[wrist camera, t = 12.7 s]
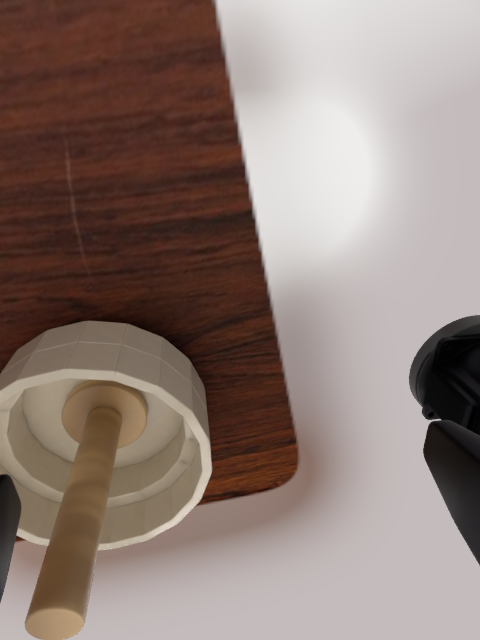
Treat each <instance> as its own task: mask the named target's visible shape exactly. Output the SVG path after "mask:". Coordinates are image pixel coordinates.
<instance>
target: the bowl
mask: <svg viewBox="0 0 480 640" xmlns="http://www.w3.org/2000/svg"><path fill="white" fill-rule="evenodd" d="M88 380H108V381H115V382H118V383H121V384H124V385H127V386H130V387H133V388H136V389H137V390H139V391H140V393H141V394H142V395H143V397H144V399H145V401H146V403H147V408H148V414H147V423H146V427H145V429H144V431H143V432H142V434H141V435H140V436H139V438H138V439H136V440H135V441H134V442H133V443H131V444H129V445H127V446H125V447H122V448H119V449H117V451H116V457H115V462H114V467H113V473H112V478H111V483H110V489H109V494H108V500H107V505H106V510H105V516H104V521H103V526H102V532H101V537H100V543H99V548H98V550H110V549H115V548H119V547H123V546H127V545H131V544H135V543H139V542H143V541H146V540H149V539H151V538H153V537H154V536H156V535H158V534H160V533H162V532H163V531H165V530H167V529H169V528H171V527H173V526H175V525H176V524H178V523H179V522H180V521H181V520H182V519H183V518H184V517H185V516H186V515H187V514H188V513H189V512H190V511H191V510H192V509H193V508H194V507H195V506H196V505H197V503H198V502H199V501H200V500H201V498H202V496H203V493H204V491H205V488H206V486H207V483H208V481H209V478H210V476H211V473H212V462H211V448H210V436H209V426H208V416H207V406H206V395H205V388H204V385H203V383H202V381H201V379H200V378H199V376H198V374H197V372H196V370H195V368H194V366H193V365H192V363H191V361H190V360H189V359H188V358H187V357H186V356H185V355H184V354H183V353H181V352H180V351H179V350H178V349H177V348H175V347H174V346H173V345H172V344H171V343H169V342H168V341H167V340H166V339H165V338H163V337H161V336H158V335H156V334H153V333H151V332H148V331H146V330H143V329H140V328H138V327H135V326H133V325H130V324H127V323H115V322H101V321H83V322H79V323H74V324H70V325H66V326H62V327H58V328H54V329H49V330H47V331H45V332H43V333H42V334H40V335H39V336H37V337H36V338H34V339H33V340H31V341H30V342H28V343H27V344H25V345H24V346H22V347H21V348H19V349H18V350H17V351H16V352H15V353H14V355H13V356H12V358H11V359H10V361H9V362H8V364H7V365H6V366H5V368H4V369H3V371H2V372H1V374H0V474H8V475H10V476H11V478H12V480H13V482H14V485H15V487H16V490H17V493H18V495H19V498H20V500H21V506H22V510H21V516H20V521H19V525H18V530H17V534H16V535H17V536H19V537H21V538H23V539H25V540H28V541H30V542H33V543H36V544H41V545H46V546H48V544H49V541H50V538H51V535H52V531H53V528H54V525H55V521H56V518H57V515H58V512H59V508H60V505H61V502H62V498H63V495H64V492H65V489H66V485H67V482H68V479H69V476H70V472H71V469H72V466H73V462H74V459H75V456H76V453H77V449H78V446H79V443H78V442H76V441H75V440H74V439H72V438H71V437H70V436H69V434H68V433H67V432H66V430H65V428H64V426H63V423H62V410H63V407H64V404H65V402H66V399H67V397H68V395H69V394H70V393H71V391H72V390H73V389H74V388H75V387H77V386H78V385H80V384H81V383H83V382H85V381H88Z"/></svg>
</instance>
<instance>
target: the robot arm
mask: <svg viewBox="0 0 480 640" xmlns="http://www.w3.org/2000/svg"><path fill="white" fill-rule="evenodd" d="M445 344H447V345H446V346H445V347H444V345H445ZM422 414H423V416H424V417H425V418H426V419H428V420H432V419H441V421H433V422H431V423H430V424H429V426H428V430H427V435H426V439H425V444H424V448H423V453H424V458H425V460H426V462H427V465H428V467H429V469H430V471H431V473H432V476H433V478H434V480H435V482H436V484H437V486H438V488H439V490H440V493H441V495H442V497H443V499H444V501H445V503H446V505H447V508H448V510H449V512H450V514H451V516H452V518H453V520H454V522H455V524H456V525H457V527H458V529H459V531H460V533H461V534H462V536H463V538H464V539H465V541H466V543H467V545H468V546H469V548H470V550H471V551H472V553H473V555H474V556H475V558H476V560H477V561H478V563H479V565H480V334H472V335H461V336H450V337H443V338H441V339H440V340H439V341H438V342H437V345H436V349H435V354H434V358H433V363H432V367H431V371H430V374H429V379H428V383H427V388H426V393H425V397H424V404H423V409H422ZM21 510H22V506H21V500H20V498H19V495H18V493H17V490H16V487H15V485H14V482H13V480H12V478H11V476H10V475H8V474H0V602H1V598H2V595H3V592H4V588H5V583H6V580H7V575H8V571H9V566H10V561H11V557H12V553H13V548H14V544H15V539H16V534H17V530H18V525H19V521H20V516H21Z"/></svg>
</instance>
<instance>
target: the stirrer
mask: <svg viewBox="0 0 480 640" xmlns="http://www.w3.org/2000/svg"><path fill="white" fill-rule="evenodd" d="M147 414H148V408H147V403H146V401H145V399H144V397H143V395H142V394H141V393H140V391H139V390H137V389H136V388H133V387H130V386H127V385H124V384H121V383H118V382H115V381H108V380H88V381H85V382H83V383H81V384H80V385H78V386H77V387H75V388H74V389H73V390H72V391H71V393H70V394H69V395H68V397H67V399H66V402H65V404H64V407H63V410H62V423H63V426H64V428H65V430H66V432H67V433H68V434H69V436H70V437H71V438H72V439H74V440H75V441H76V442H78V443H79V446H78V449H77V453H76V456H75V459H74V462H73V466H72V469H71V472H70V476H69V479H68V482H67V485H66V489H65V492H64V495H63V498H62V502H61V505H60V508H59V512H58V515H57V518H56V521H55V525H54V528H53V531H52V535H51V538H50V541H49V544H48V548H47V551H46V554H45V558H44V561H43V564H42V568H41V571H40V574H39V577H38V581H37V584H36V587H35V590H34V594H33V597H32V600H31V603H30V607H29V610H28V613H27V617H26V620H25V628H26V630H27V632H28V633H29V634H30V635H32V636H34V637H36V638H38V639H42V640H62V639H67V638H69V637H72V636H74V635H76V634H77V633H78V632H80V631H81V629H82V628H83V626H84V623H85V617H86V612H87V607H88V601H89V596H90V590H91V585H92V580H93V575H94V569H95V564H96V559H97V553H98V548H99V543H100V537H101V532H102V526H103V521H104V516H105V510H106V505H107V500H108V494H109V489H110V483H111V478H112V473H113V467H114V462H115V457H116V451H117V449H119V448H122V447H125V446H127V445H129V444H131V443H133V442H134V441H135V440H136V439H138V438H139V436H140V435H141V434H142V432H143V431H144V429H145V427H146V423H147Z"/></svg>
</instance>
